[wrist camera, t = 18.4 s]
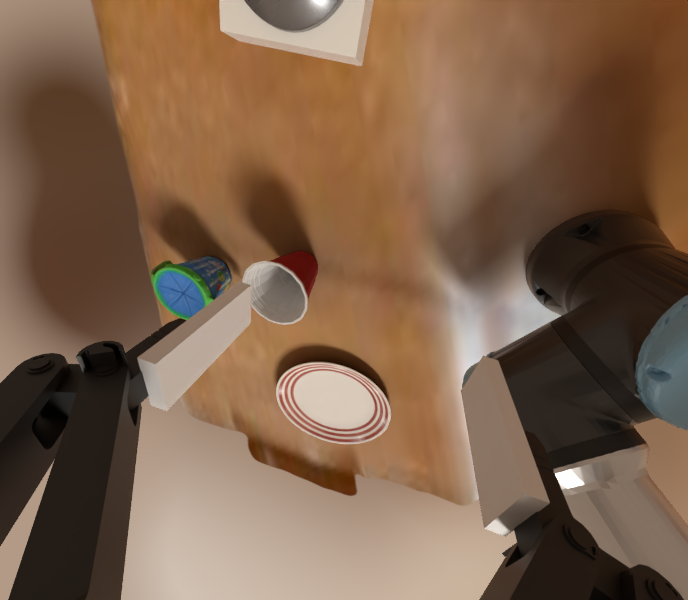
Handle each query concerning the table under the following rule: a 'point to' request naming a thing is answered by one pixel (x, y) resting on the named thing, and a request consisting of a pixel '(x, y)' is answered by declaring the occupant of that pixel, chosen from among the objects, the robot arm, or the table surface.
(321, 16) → the scale pan
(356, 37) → the scale
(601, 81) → the table surface
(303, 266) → the plastic cup
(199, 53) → the table surface
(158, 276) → the snack cup
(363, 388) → the dinner plate
